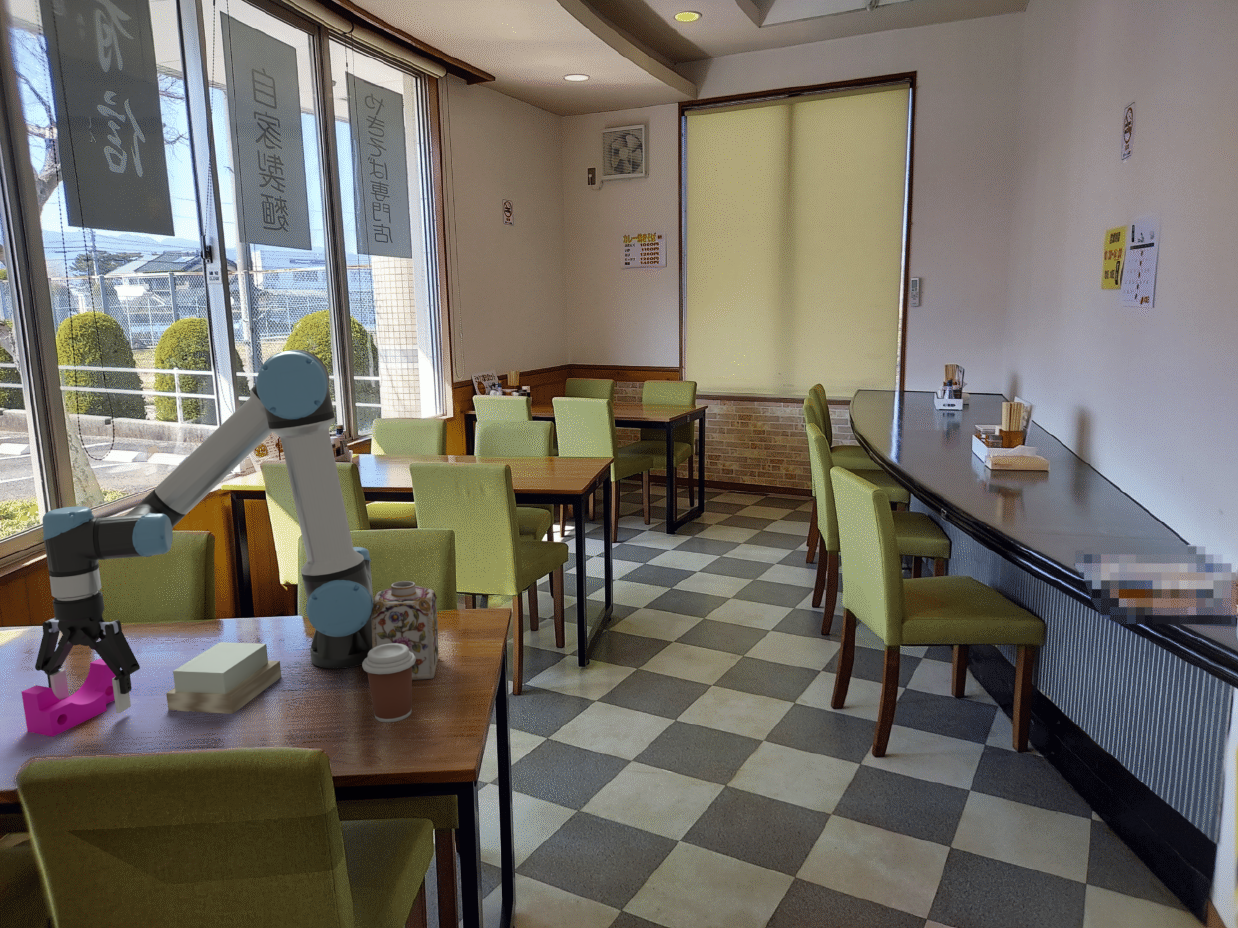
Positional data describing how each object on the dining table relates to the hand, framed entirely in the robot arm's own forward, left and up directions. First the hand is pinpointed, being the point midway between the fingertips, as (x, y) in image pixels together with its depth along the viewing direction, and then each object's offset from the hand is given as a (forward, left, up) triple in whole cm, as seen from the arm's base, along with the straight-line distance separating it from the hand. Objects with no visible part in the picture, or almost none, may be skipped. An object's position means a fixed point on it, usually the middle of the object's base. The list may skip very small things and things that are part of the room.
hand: (92, 707), depth 153 cm
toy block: (+3, 0, -2) cm, 3 cm away
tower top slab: (-19, -11, +2) cm, 22 cm away
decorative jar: (-50, -25, -1) cm, 56 cm away
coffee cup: (-55, -6, -2) cm, 56 cm away
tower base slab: (-19, -11, -2) cm, 22 cm away
